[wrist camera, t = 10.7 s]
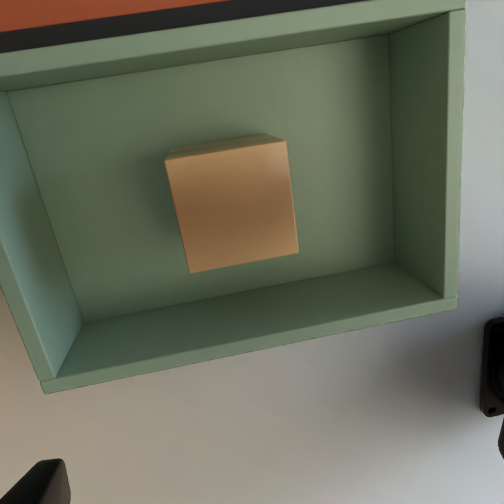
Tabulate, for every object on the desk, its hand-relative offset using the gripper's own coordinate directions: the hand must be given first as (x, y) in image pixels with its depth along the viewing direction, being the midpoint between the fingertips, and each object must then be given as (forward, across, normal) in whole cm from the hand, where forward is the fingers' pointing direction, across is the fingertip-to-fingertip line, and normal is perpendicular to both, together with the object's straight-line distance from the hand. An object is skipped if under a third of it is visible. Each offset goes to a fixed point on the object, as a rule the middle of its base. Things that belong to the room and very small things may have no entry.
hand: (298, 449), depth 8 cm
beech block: (+11, 0, -3) cm, 12 cm away
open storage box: (+12, 0, -3) cm, 12 cm away
